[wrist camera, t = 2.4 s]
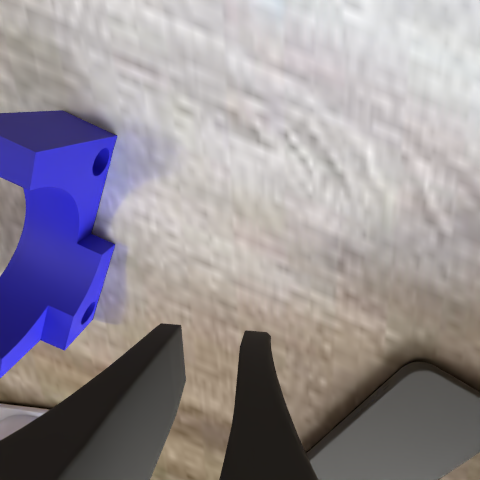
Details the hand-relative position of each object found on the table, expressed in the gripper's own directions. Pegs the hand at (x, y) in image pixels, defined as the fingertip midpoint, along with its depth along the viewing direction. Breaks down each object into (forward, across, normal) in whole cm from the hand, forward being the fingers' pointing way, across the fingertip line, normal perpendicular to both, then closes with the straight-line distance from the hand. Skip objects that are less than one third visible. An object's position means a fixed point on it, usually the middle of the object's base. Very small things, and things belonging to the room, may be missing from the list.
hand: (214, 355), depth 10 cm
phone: (+9, -9, +15) cm, 20 cm away
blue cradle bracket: (+10, +10, 0) cm, 14 cm away
